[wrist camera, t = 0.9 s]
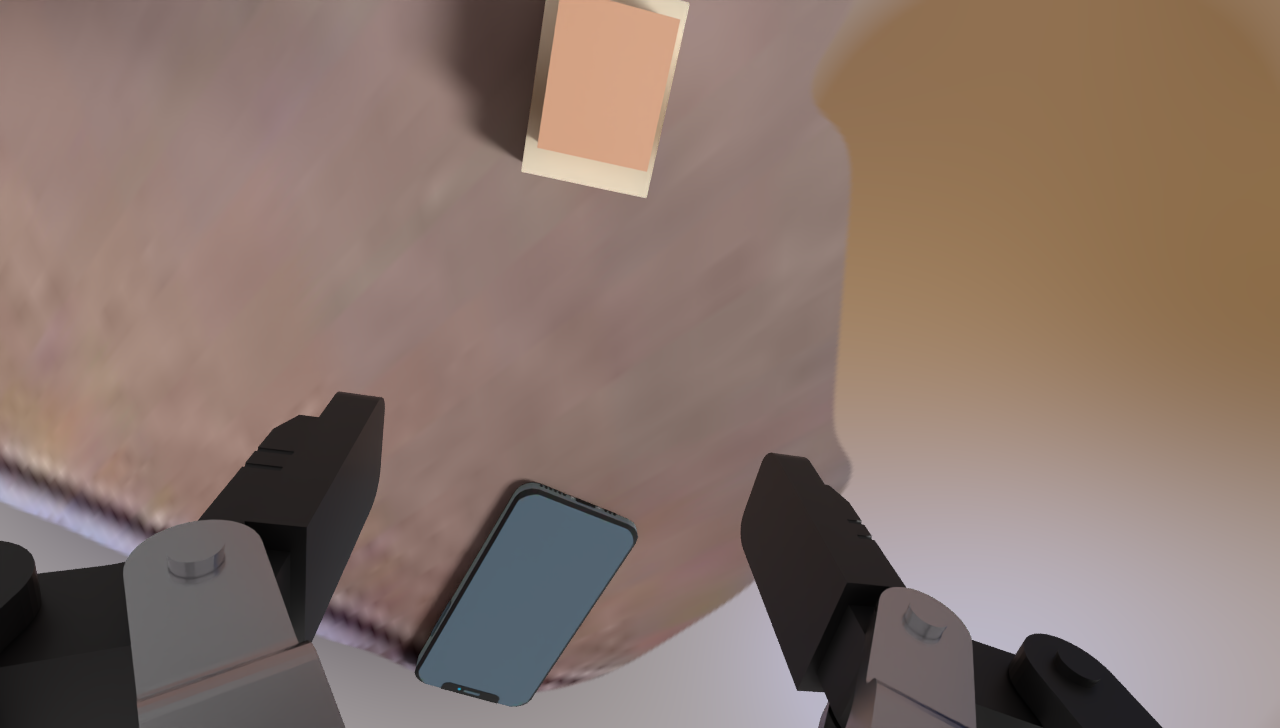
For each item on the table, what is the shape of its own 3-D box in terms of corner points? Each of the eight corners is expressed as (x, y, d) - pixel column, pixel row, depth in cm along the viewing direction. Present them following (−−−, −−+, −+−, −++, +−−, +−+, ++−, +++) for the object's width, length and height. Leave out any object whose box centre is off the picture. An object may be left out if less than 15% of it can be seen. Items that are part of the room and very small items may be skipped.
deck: (551, -25, 24) (550, -36, 21) (677, 9, 25) (689, 3, 22) (524, 163, 26) (521, 171, 24) (639, 188, 27) (646, 198, 25)
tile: (561, -6, 22) (561, -14, 20) (670, 24, 23) (680, 19, 21) (538, 142, 24) (537, 147, 22) (641, 165, 24) (646, 171, 23)
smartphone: (647, 533, 34) (525, 714, 39) (642, 514, 36) (526, 690, 40) (521, 484, 32) (406, 682, 36) (522, 466, 34) (412, 658, 38)
